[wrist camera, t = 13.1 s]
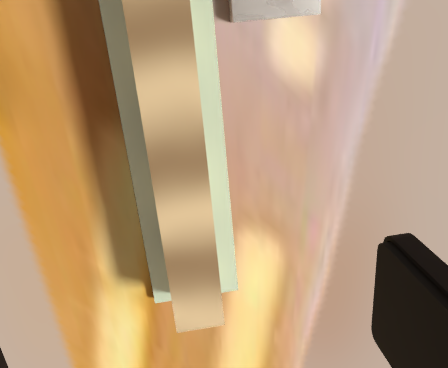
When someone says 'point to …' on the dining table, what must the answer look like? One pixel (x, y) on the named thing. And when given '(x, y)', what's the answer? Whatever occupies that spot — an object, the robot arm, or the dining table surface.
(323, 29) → the dining table surface
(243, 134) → the dining table surface
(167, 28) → the rail
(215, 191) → the mat
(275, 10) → the post
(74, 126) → the dining table surface
